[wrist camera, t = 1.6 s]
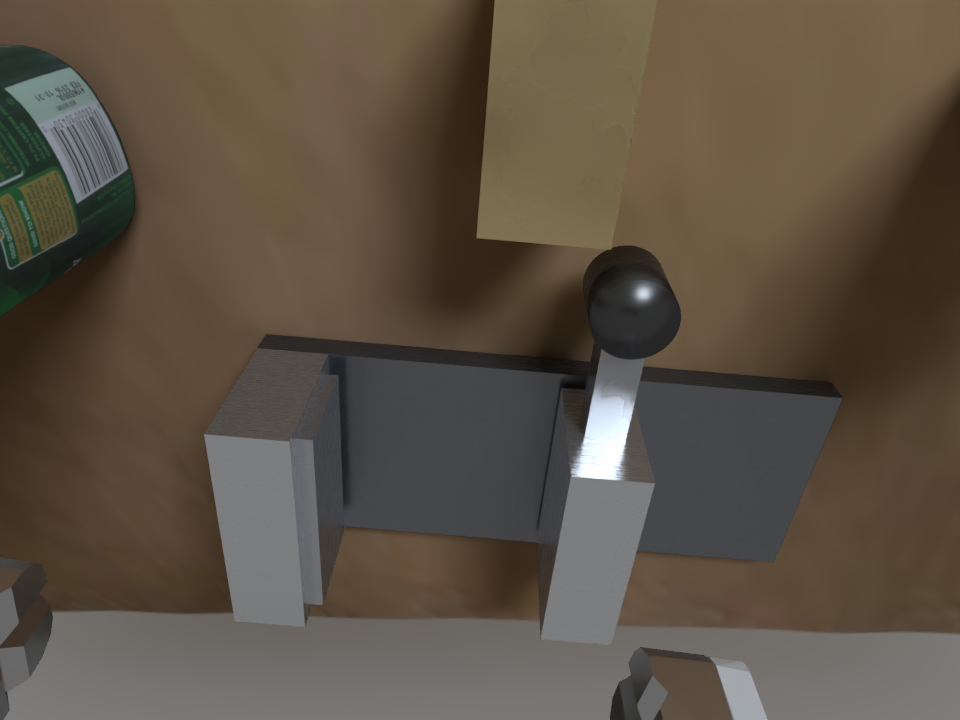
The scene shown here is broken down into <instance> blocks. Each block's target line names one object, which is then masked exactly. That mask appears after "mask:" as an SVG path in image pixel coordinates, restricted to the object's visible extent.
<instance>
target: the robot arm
mask: <svg viewBox="0 0 960 720" xmlns="http://www.w3.org/2000/svg"><path fill="white" fill-rule="evenodd" d="M46 583H47V579H46V575H45V571H44V566H43V565H42V564H36V563H30V562H24V561H18V560H12V559H6V558H1V557H0V720H3V719H4V718H5V716H6V715H7V713H8V712H9V703H8V695H7V692H8V691H9V690H11V689H13V688H14V687H16V686H17V685H19V684H20V683H22V682H24V681H25V680H27V679H28V678H29V677H30V676H31V675H32V673H33V671H34V670H35V668H36V666H37V665H38V663H39V661H40V660H41V658H42V656H43V654H44V651H45V648H46V646H47V643H48V640H49V637H50V634H51V628H52V619H53V616H52V609H51V604H49V603H48V602H47V601H46V600H45V599H44V598H43V597H42V596H41V595H40V594H39V593H40V592H41V590H42V589H43V587H44V586H45V584H46ZM629 667H630V672H631V676H629V677H628V678H626V679H624V680H622V681H620V682H619V684H618V686H617V689H616V691H615V693H614V696H613V699H612V706H611V713H610V720H768V719H767V717H766V714H765V711H764V709H763V706H762V703H761V701H760V698H759V695H758V693H757V690H756V687H755V685H754V682H753V679H752V676H751V674H750V671H749V669H748V668H747V666H746V665H745V664H744V663H743V662H741V661H736V660H729V659H721V658H713V657H706V656H704V655H697V654H690V653H682V652H674V651H666V650H658V649H650V648H642V647H640V648H639V649H637V650H636V651H635V652H634V653H633V655H632V657H631V659H630V661H629Z"/></svg>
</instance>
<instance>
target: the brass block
mask: <svg viewBox="0 0 960 720" xmlns="http://www.w3.org/2000/svg"><path fill="white" fill-rule="evenodd" d="M657 1H658V0H495V5H494V18H493V30H492V43H491V56H490V69H489V82H488V95H487V108H486V121H485V134H484V147H483V160H482V173H481V186H480V199H479V212H478V225H477V238H481V239H493V240H504V241H516V242H527V243H539V244H550V245H562V246H573V247H585V248H596V249H608V250H611V249H612V243H613V238H614V232H615V227H616V222H617V216H618V211H619V205H620V200H621V195H622V189H623V184H624V178H625V173H626V168H627V162H628V157H629V152H630V146H631V141H632V135H633V130H634V125H635V119H636V114H637V108H638V103H639V98H640V92H641V87H642V81H643V76H644V71H645V65H646V60H647V54H648V49H649V44H650V38H651V33H652V28H653V22H654V17H655V11H656V6H657Z"/></svg>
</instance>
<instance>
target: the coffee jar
mask: <svg viewBox="0 0 960 720" xmlns="http://www.w3.org/2000/svg"><path fill="white" fill-rule="evenodd" d="M134 206H135V190H134V184H133V179H132V174H131V170H130V166H129V163H128V159H127V156H126V153H125V151H124V148H123V145H122V142H121V139H120V137H119V134H118V132H117V130H116V128H115V126H114V124H113V122H112V120H111V118H110V116H109V115H108V113H107V111H106V109H105V108H104V106H103V105H102V103H101V102H100V100H99V98H98V97H97V95H96V94H95V92H94V91H93V89H92V88H91V87H90V86H89V84H88V83H87V82H86V81H85V80H84V78H83V77H82V76H81V75H80V74H79V73H78V72H76V71H75V70H74V69H73V68H72V67H71V66H69V65H68V64H67V63H66V62H64V61H62V60H61V59H59V58H57V57H55V56H53V55H51V54H49V53H47V52H45V51H42V50H39V49H36V48H32V47H27V46H21V45H0V317H1V316H2V315H3V314H5V313H6V312H8V311H9V310H11V309H12V308H13V307H15V306H16V305H18V304H19V303H21V302H22V301H24V300H25V299H27V298H28V297H30V296H31V295H33V294H34V293H36V292H37V291H39V290H40V289H42V288H43V287H45V286H46V285H48V284H49V283H51V282H52V281H54V280H55V279H57V278H59V277H60V276H62V275H63V274H65V273H66V272H68V271H69V270H70V269H72V268H73V267H75V266H76V265H78V264H79V263H81V262H82V261H84V260H85V259H87V258H88V257H89V256H91V255H92V254H94V253H95V252H97V251H98V250H99V249H101V248H102V247H104V246H105V245H106V244H108V243H109V242H111V241H112V240H113V239H115V238H116V237H117V236H118V235H120V234H121V233H122V231H123V230H124V229H125V228H126V227H127V225H128V224H129V222H130V220H131V218H132V215H133V211H134Z"/></svg>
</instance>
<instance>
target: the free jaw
mask: <svg viewBox="0 0 960 720" xmlns="http://www.w3.org/2000/svg"><path fill="white" fill-rule="evenodd" d="M583 293H584V298H585V303H586V308H587V313H588V318H589V323H590V328H591V333H592V335H593V338H594V340H595V341H594V346H593V351H592V357H591V362H590V367H589V373H588V378H587V384H586V389H585V390H581V389H569V388H561V393H560V399H559V405H558V412H557V418H556V424H555V430H554V436H553V442H552V448H551V454H550V460H549V466H548V473H547V479H546V485H545V491H544V497H543V503H542V509H541V515H540V521H539V527H538V534H537V564H538V589H539V614H540V638H541V639H546V640H557V641H569V642H581V643H593V644H605V645H611V643H612V640H613V636H614V633H615V629H616V625H617V622H618V618H619V614H620V610H621V607H622V603H623V599H624V596H625V592H626V588H627V585H628V581H629V577H630V574H631V570H632V566H633V563H634V559H635V555H636V552H637V548H638V544H639V540H640V537H641V533H642V529H643V526H644V522H645V518H646V515H647V511H648V507H649V504H650V500H651V496H652V493H653V489H654V485H655V482H654V478H653V474H652V470H651V466H650V463H649V459H648V455H647V451H646V447H645V443H644V440H643V436H642V432H641V428H640V424H639V420H638V417H637V413H636V409H635V405H634V404H635V399H636V395H637V391H638V387H639V382H640V378H641V374H642V369H643V365H644V361H645V358H646V357H649V356H652V355H654V354H656V353H658V352H660V351H661V350H663V349H664V348H665V347H666V346H667V345H669V343H670V342H671V341H672V340H673V339H674V337H675V336H676V334H677V332H678V329H679V326H680V322H681V311H680V307H679V304H678V302H677V299H676V297H675V295H674V293H673V291H672V288H671V286H670V284H669V282H668V280H667V277H666V275H665V273H664V271H663V269H662V266H661V264H660V263H659V261H658V260H657V258H656V257H655V256H654V255H653V254H651V253H650V252H648V251H647V250H645V249H642V248H640V247H636V246H618V247H614V248H612V249H611V250H606V251H604V252H603V253H601V254H600V255H598V256H597V257H596V258H595V259H594V260H593V261H592V262H591V263H590V265H589V266H588V268H587V270H586V272H585V275H584V278H583Z"/></svg>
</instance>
